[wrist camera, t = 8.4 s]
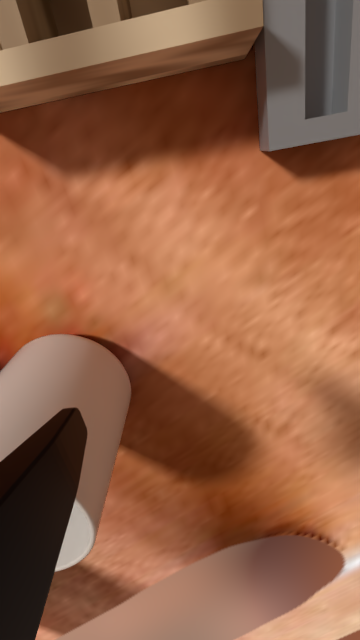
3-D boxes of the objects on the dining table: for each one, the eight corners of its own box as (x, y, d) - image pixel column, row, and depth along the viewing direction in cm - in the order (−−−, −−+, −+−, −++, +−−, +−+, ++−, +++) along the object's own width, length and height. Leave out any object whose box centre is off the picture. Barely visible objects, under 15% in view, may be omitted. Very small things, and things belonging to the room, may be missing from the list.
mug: (141, 337, 23) (101, 478, 13) (128, 427, 27) (90, 585, 18) (-32, 307, 23) (-205, 431, 13) (-19, 403, 27) (-142, 553, 17)
